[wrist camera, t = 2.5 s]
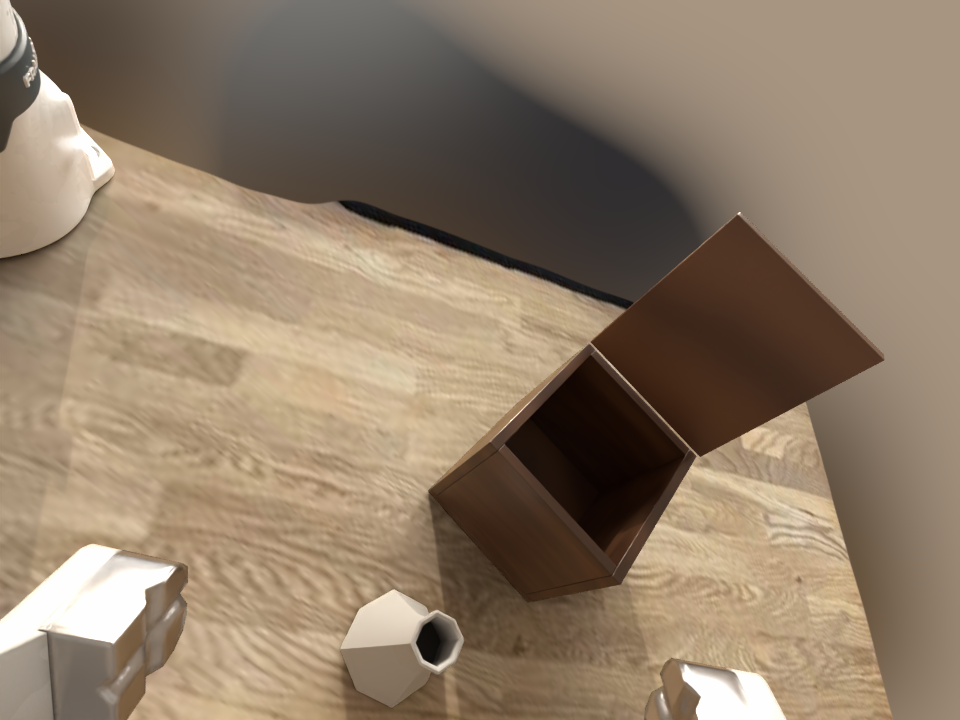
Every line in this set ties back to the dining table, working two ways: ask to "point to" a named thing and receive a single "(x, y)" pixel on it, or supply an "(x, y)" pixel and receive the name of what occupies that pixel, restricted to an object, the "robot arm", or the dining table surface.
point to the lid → (733, 339)
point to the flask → (398, 647)
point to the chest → (567, 482)
